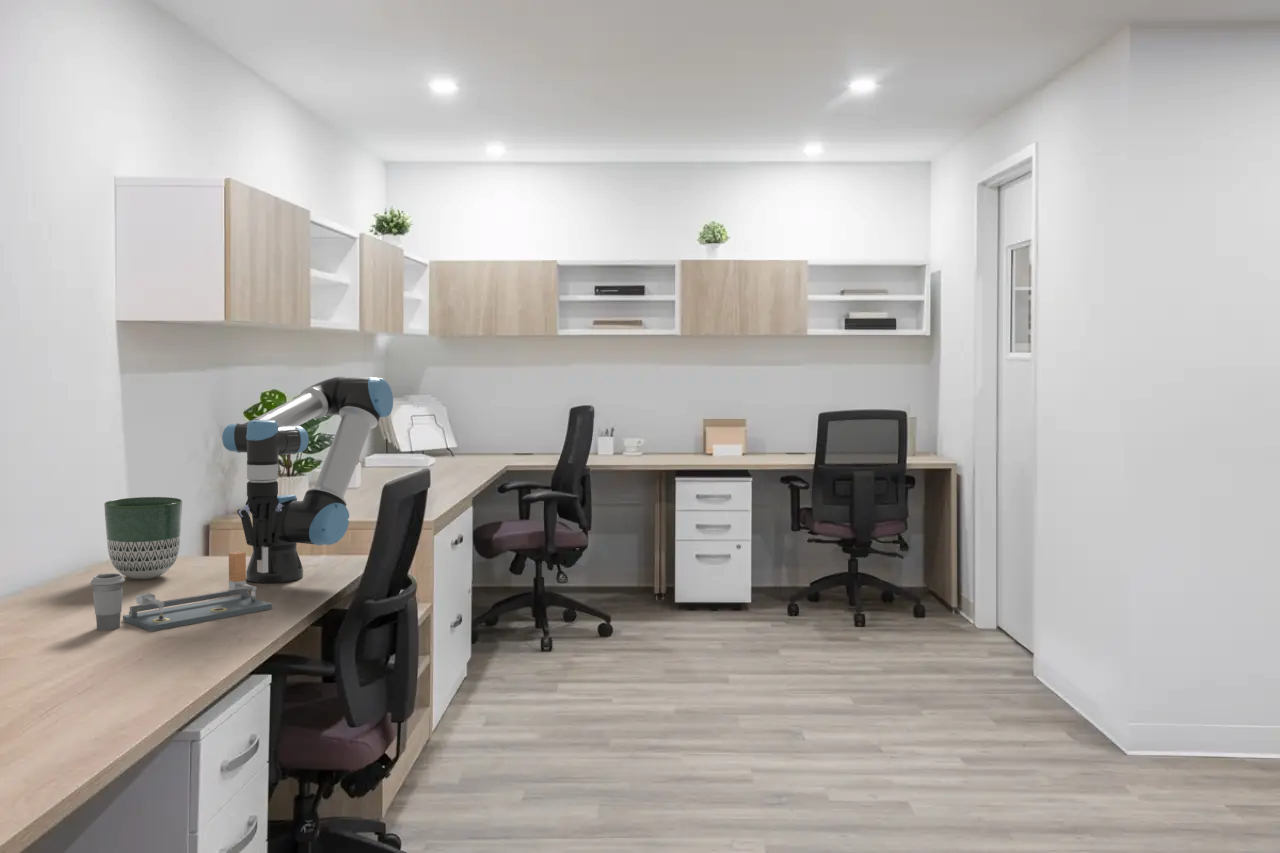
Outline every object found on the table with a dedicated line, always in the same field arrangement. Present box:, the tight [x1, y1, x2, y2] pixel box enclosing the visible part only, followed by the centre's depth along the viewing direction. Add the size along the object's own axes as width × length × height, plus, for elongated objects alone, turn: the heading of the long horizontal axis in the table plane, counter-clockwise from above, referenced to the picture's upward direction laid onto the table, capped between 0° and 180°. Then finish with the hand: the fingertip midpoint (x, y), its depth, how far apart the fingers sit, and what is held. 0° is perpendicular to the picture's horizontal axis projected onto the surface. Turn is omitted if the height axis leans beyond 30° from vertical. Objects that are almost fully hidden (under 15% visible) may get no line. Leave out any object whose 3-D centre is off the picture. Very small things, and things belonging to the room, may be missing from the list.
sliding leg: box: [228, 551, 257, 602], centre depth 260 cm, size 3×10×11 cm, turn 50°
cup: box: [90, 572, 126, 631], centre depth 237 cm, size 7×7×12 cm
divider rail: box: [128, 588, 250, 619], centre depth 251 cm, size 29×10×5 cm, turn 140°
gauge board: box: [122, 594, 273, 632], centre depth 251 cm, size 30×14×1 cm, turn 140°
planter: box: [103, 496, 183, 580], centre depth 290 cm, size 20×20×21 cm
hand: (262, 571), depth 268 cm, fingers closed
